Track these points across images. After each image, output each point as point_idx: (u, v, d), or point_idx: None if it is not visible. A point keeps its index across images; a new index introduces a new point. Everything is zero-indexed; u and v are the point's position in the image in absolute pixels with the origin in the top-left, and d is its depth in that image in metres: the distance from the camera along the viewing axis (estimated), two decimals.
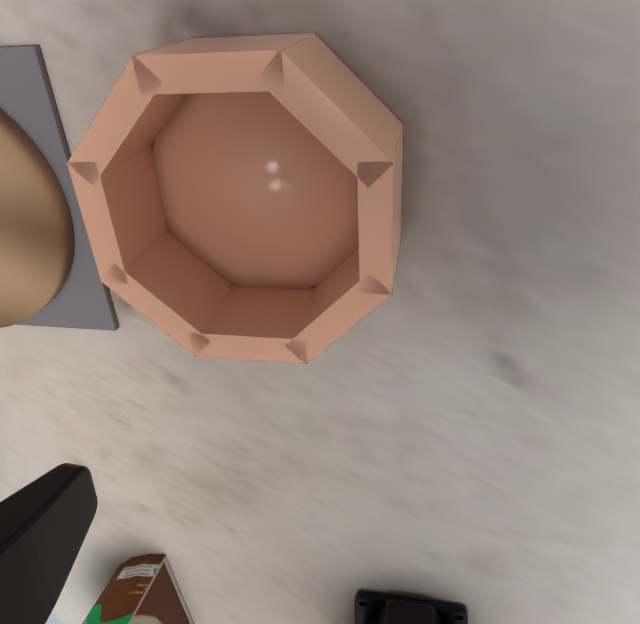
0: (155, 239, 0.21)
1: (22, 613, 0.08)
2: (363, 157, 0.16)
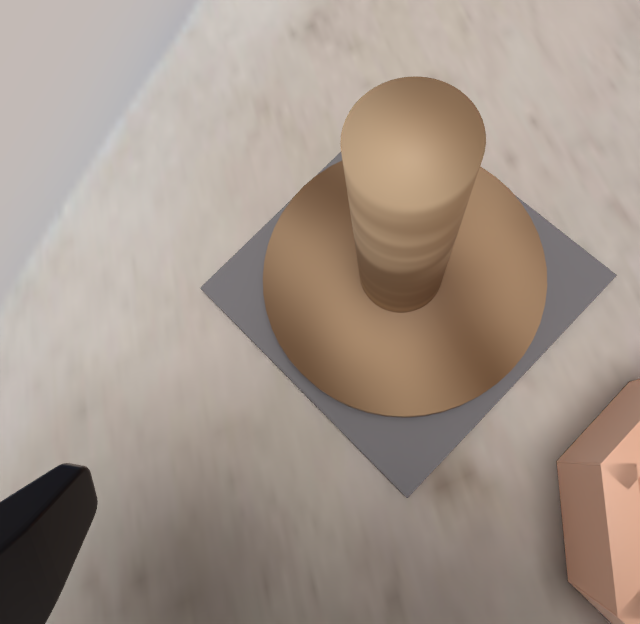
0: None
1: (22, 613, 0.08)
2: None
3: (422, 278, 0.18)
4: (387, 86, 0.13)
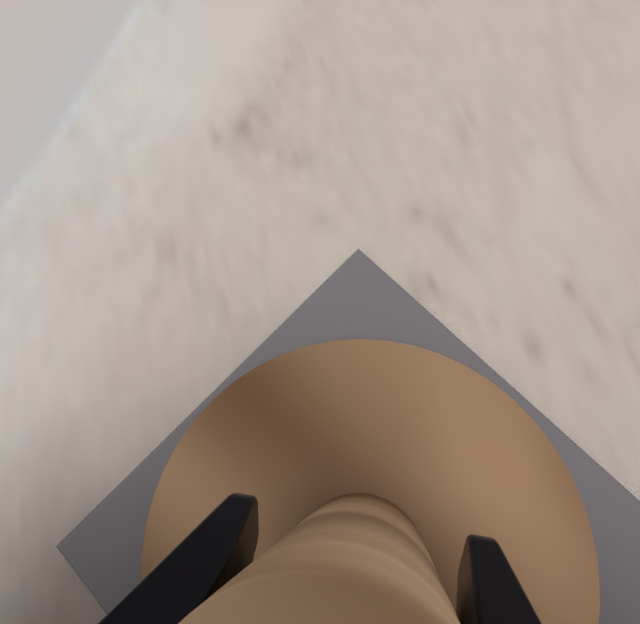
0: None
1: None
2: None
3: None
4: (243, 603, 0.04)
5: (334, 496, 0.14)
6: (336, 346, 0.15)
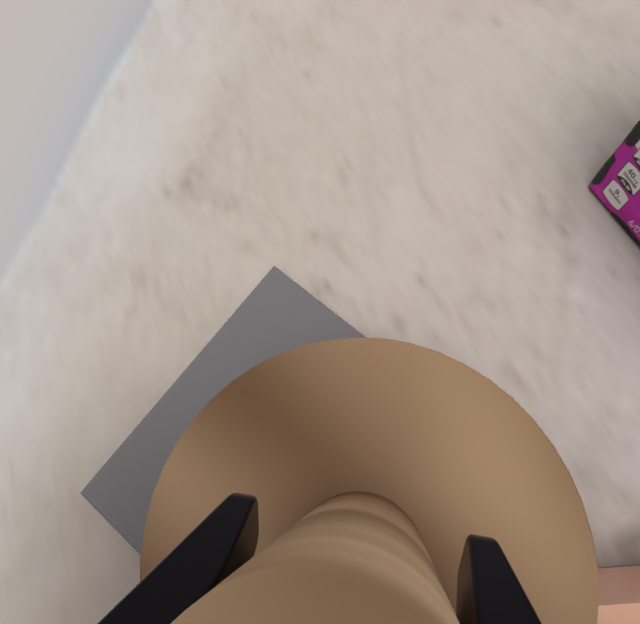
0: None
1: None
2: None
3: None
4: (241, 599, 0.05)
5: (333, 494, 0.14)
6: (335, 345, 0.15)
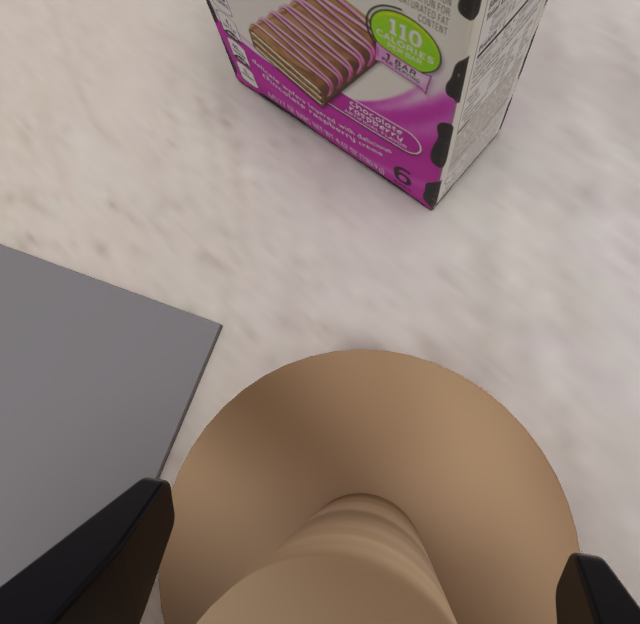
0: None
1: None
2: None
3: None
4: (271, 583, 0.06)
5: (338, 496, 0.15)
6: (339, 356, 0.16)
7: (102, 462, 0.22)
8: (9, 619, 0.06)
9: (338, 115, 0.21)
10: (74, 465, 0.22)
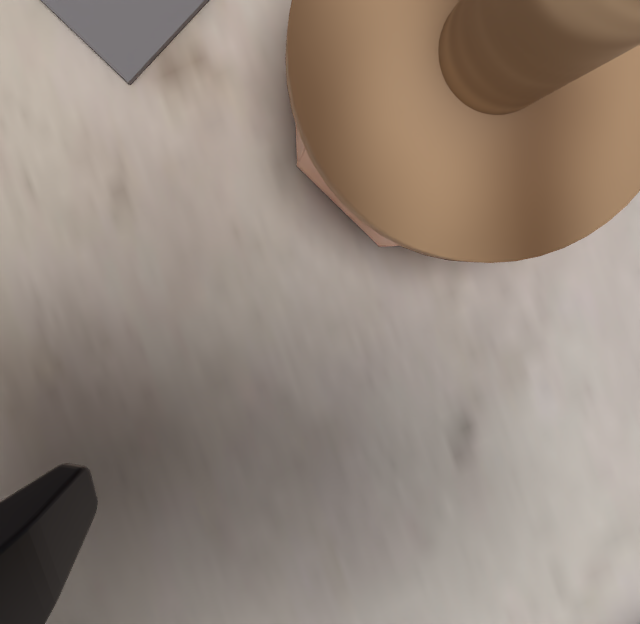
0: None
1: (22, 613, 0.08)
2: None
3: (579, 62, 0.11)
4: None
5: None
6: None
7: None
8: None
9: None
10: None
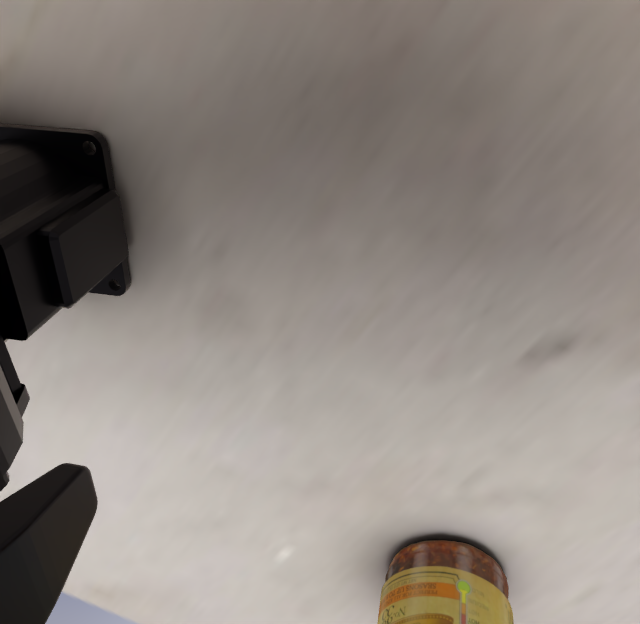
0: None
1: (22, 613, 0.08)
2: None
3: None
4: None
5: None
6: None
7: None
8: None
9: None
10: None
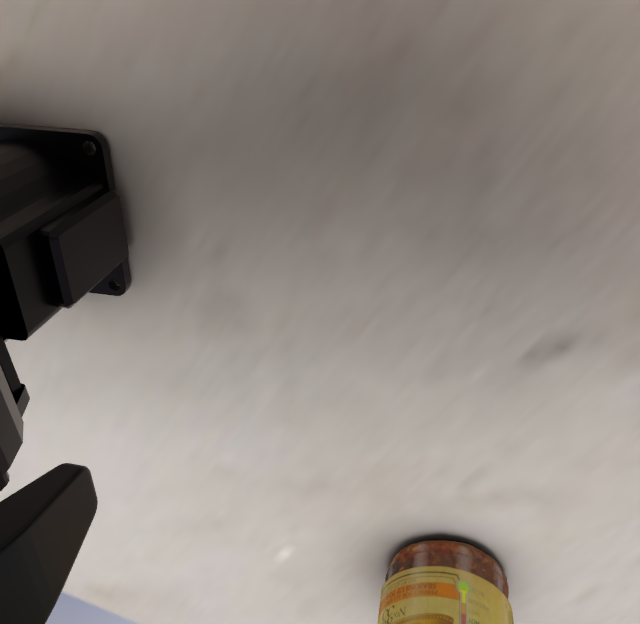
0: None
1: (22, 613, 0.08)
2: None
3: None
4: None
5: None
6: None
7: None
8: None
9: None
10: None
